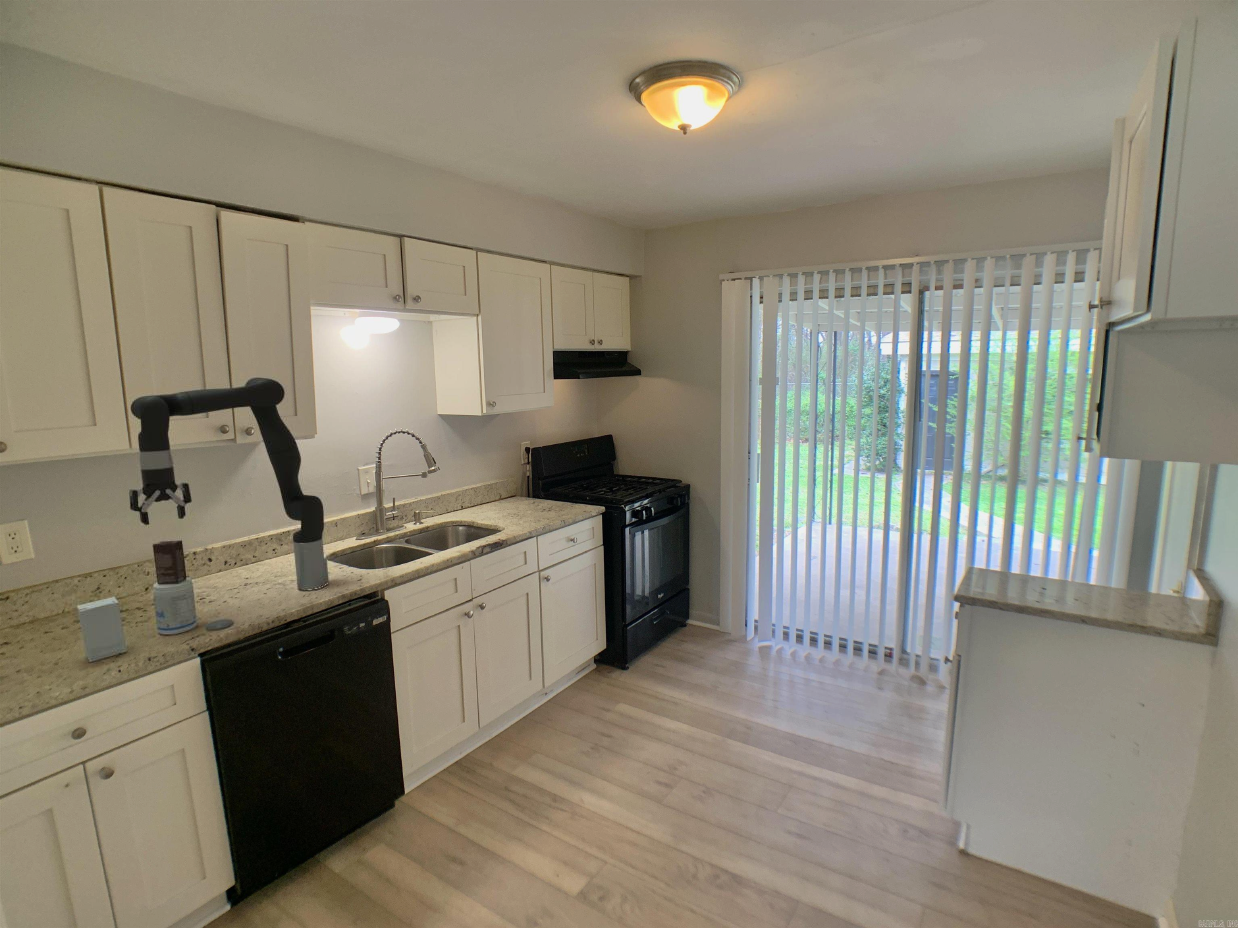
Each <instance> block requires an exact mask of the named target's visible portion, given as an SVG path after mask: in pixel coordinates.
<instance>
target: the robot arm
mask: <svg viewBox="0 0 1238 928" xmlns="http://www.w3.org/2000/svg"><path fill="white" fill-rule="evenodd" d="M285 396H286V395H285V388H284V387H283V385H282V384H281V383H280V382H279V381H277V380H275V379H271V378H268V377H267V378H266V377H252V378H250V379H248V380H247V382H246V383H245V385H244V386H236V387H227V388H223V387H222V388H205V389H203V388H202V389H194V390H187V391H179V392H176V393H167V394H165V393H164V394H157V395H156V394H155V395H154V394H152V395H151V394H150V395H144V396H140V397H138V398H135V399H134V400H133V401H132V403H131V404H130V412H131V414H132V415H133V416H134V417H135V418H137V419H138V420H140V431H139V432H138V435H137V441H138V448H139V450H138V451H139V466H140V475H141V482H142V488H141V489H130V490H129V491H128V492H129V494H128V495H129V509H130V510H131V511H132V512H133V511H134V512H138V514H139V520H140V523H142V524H143V525H144V526H148V525H150V520H149V512H148V509H149V508H150V507H151V506H153V503H160V502H162V501H165V502H166V501H169V500H170V501H172V502H174V503H175V504H176V511H177V512H176V513H177V517H178V519H180V520H181V519H182V520H183V519H184V517H186V505H187V504H190V503H192V501H193V500H192V499H193V498H192V496H191V495H192V494H191V490H190V489H191V488H190V485H189V483H187V482H181V483H178V484H177V483H176V477H175V476H176V475H175V470H174V469H175V468H174V459H173V455H172V450H171V445H170V436H169V431H170V430H169V429H170V421H171V420H170V419H171V417H185V416H186V417H187V416H194V415H195V416H196V415H199V414H207V413H211V412H217V411H223V410H228V409H229V410H230V409H236V408H247V407H249V408H250V410H251V412H252V414H253V416H254V418H255V421H256V423H257V426H258V428H259V432H260V434H261V435H260V436H261V438H262V441H263V444H264V447H265V451H266V453H267V456H268V459H269V461H270V464H271V465H272V469H273V472H274V475H275V478H276V481H277V484H278V487H279V492H280V495H281V496H280V497H281V501H282V505H283V509H284V511H285V515H286V516H287V517H288V518H289V519H291V520H294V521H297V522H300V529H299V530H297V531H295V532H294V533H293V534H292V542H293V543H292V544H293V553H294V564H295V565H294V566H295V573H296V576H295V577H296V586H297V589H298V588H299V589H303V590H308V589H315V588H319V587H322V586H324V585H325V584H327V583H329V584H330V582H329V569H328V560H327V558H326V557H325V552H324V541H323V533H324V529H325V519H324V517H325V516H324V515H325V514H324V504H323V502H322V499H321V498H320V497H318V496H316V495H310V494H304V492H303V490H302V488H301V485H300V482H299V473H300V469H301V465H302V457H301V456H302V455H301V452H300V450H299V446H298V444H297V440H296V439H295V437H294V435H293V434H292V433H291V431H290V429H289V427H288V426H287V425H286V424H285V422H284V421H283V419H282V417H281V415H280V414H279V411H278V407H277V406H278V405H279V404H281V403H282V401H283V400H284V399H285V398H284V397H285ZM178 489H179V491H180V492H181V493H182V498H183V499H181V498H180V497H179V496H178V495H177V494H176V492H177V490H178ZM142 494H143V495H144V496H145V498H143V500H142V501H141V502H142V503H141V504H140V506H139V498H140V497H141V495H142ZM324 587H325V586H324Z"/></svg>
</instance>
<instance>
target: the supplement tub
mask: <svg viewBox="0 0 1238 928" xmlns="http://www.w3.org/2000/svg"><path fill="white" fill-rule="evenodd" d="M186 577H187V576H186ZM192 580H193V579H192V578H191V577H187V579H186V580H184V581H182V582H180V583H168V584H158V583H157V582H155V583H154V584H153V585H152V586H153V587H152V591H153V602H154V603H153V604H154V610H155V611H154V612H155V618H156V626H157V632H158V633H159V634H161V635H167V636H168V635H169V636H171V635H176V634H182V633H185V632H188V631H190V630H192V629H194V628H195V627H196V626H197V624H198V623H197V621H198V620H197V613H196V610H197V609H196V602H195V592H194V583H193V581H192Z"/></svg>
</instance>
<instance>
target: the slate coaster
mask: <svg viewBox="0 0 1238 928" xmlns="http://www.w3.org/2000/svg"><path fill="white" fill-rule="evenodd" d="M232 624H233V625H234V620H233V619H226V618H225V619H218V620H215V621H212V622H209V623H208V624H206V625H205V630H206V631H212V632H213V631H221V630H225V629H227V627H228V628H230V627H232V626H233V625H232ZM231 625H232V626H231ZM229 626H230V627H229ZM224 628H225V629H224ZM220 629H221V630H220Z"/></svg>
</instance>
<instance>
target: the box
mask: <svg viewBox="0 0 1238 928" xmlns="http://www.w3.org/2000/svg"><path fill="white" fill-rule="evenodd" d="M152 550H153V557H154V558H153V559H154V565H155V574H156V581H157V582H156V583H158V584H168V583H180V582H182V581H184V580H186V579H187V569H186V561H185V560H186V559H185V554H184V553H185V552H184V545H183V540H182V539H181V540H162V541H159V542H156V543H153V544H152Z"/></svg>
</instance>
